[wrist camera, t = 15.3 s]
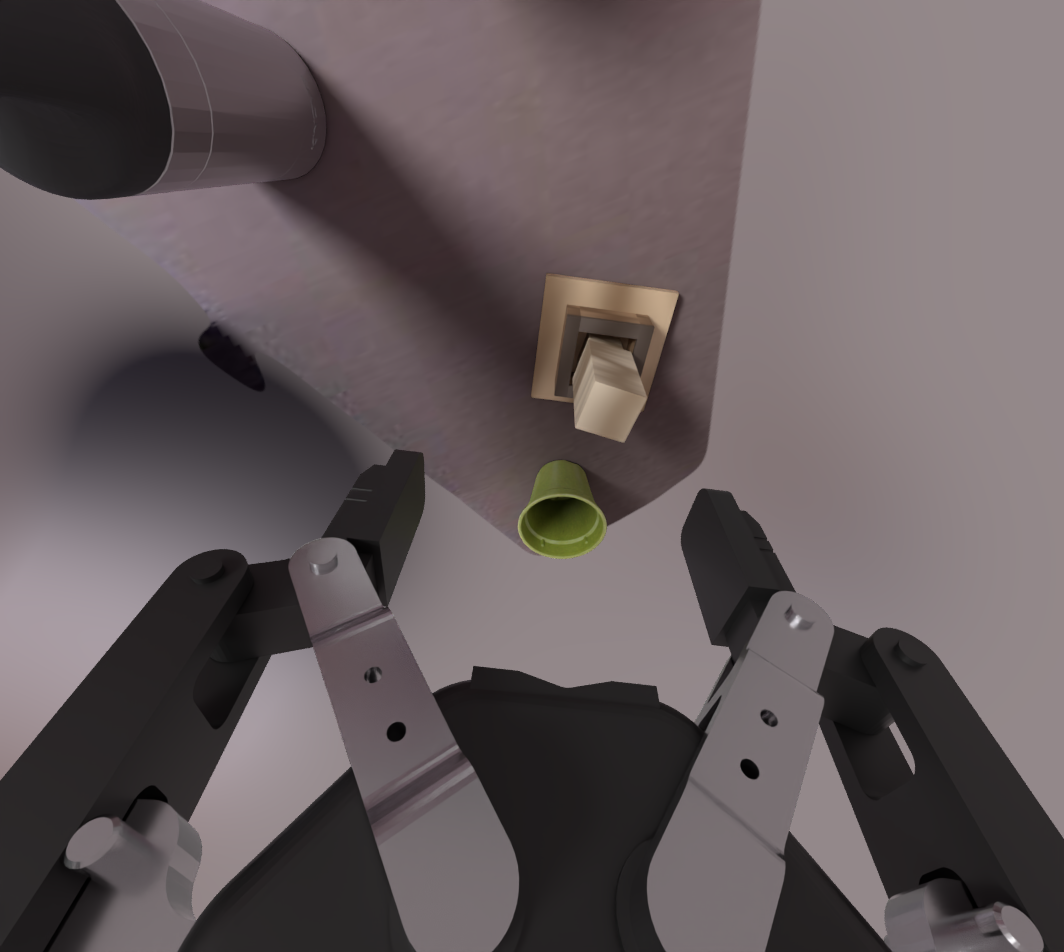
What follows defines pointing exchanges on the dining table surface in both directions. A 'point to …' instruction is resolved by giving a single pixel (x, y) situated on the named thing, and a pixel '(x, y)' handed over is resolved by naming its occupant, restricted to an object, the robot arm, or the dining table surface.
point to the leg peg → (606, 388)
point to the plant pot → (562, 513)
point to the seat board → (597, 328)
